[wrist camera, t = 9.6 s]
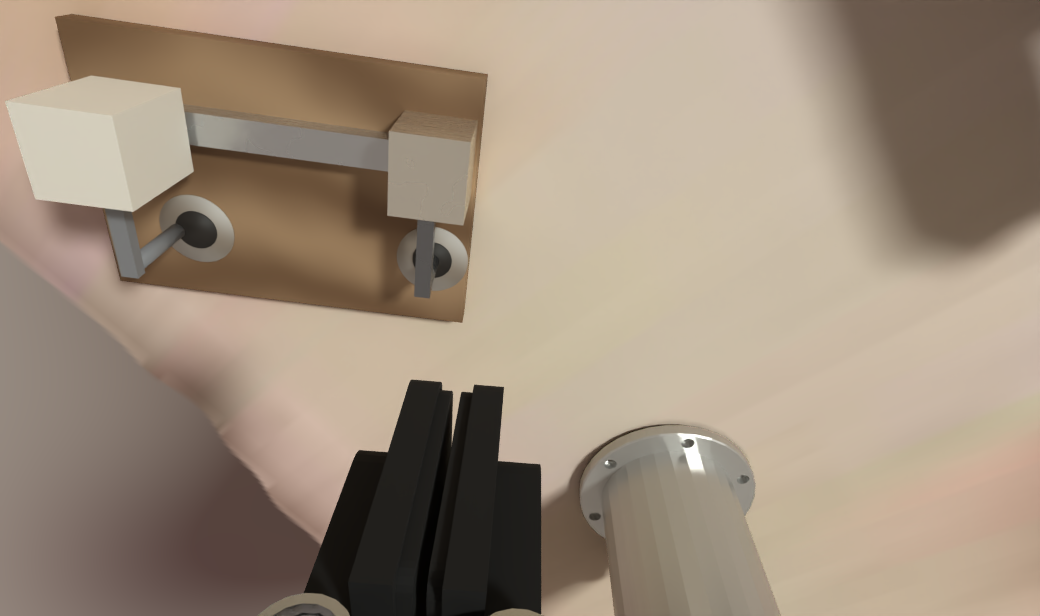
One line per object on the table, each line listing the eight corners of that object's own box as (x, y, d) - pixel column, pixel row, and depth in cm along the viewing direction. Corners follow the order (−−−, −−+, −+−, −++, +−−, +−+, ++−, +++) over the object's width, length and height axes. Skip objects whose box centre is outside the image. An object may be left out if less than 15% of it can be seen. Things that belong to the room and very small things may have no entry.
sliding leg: (215, 242, 33) (152, 300, 27) (141, 232, 33) (63, 289, 27) (192, 83, 28) (112, 115, 23) (106, 71, 28) (5, 101, 23)
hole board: (464, 312, 37) (461, 324, 36) (132, 270, 36) (118, 281, 35) (487, 74, 30) (485, 79, 28) (72, 14, 29) (52, 17, 27)
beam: (463, 269, 34) (456, 303, 31) (124, 226, 33) (80, 257, 30) (477, 120, 30) (470, 142, 26) (87, 65, 29) (30, 81, 25)
